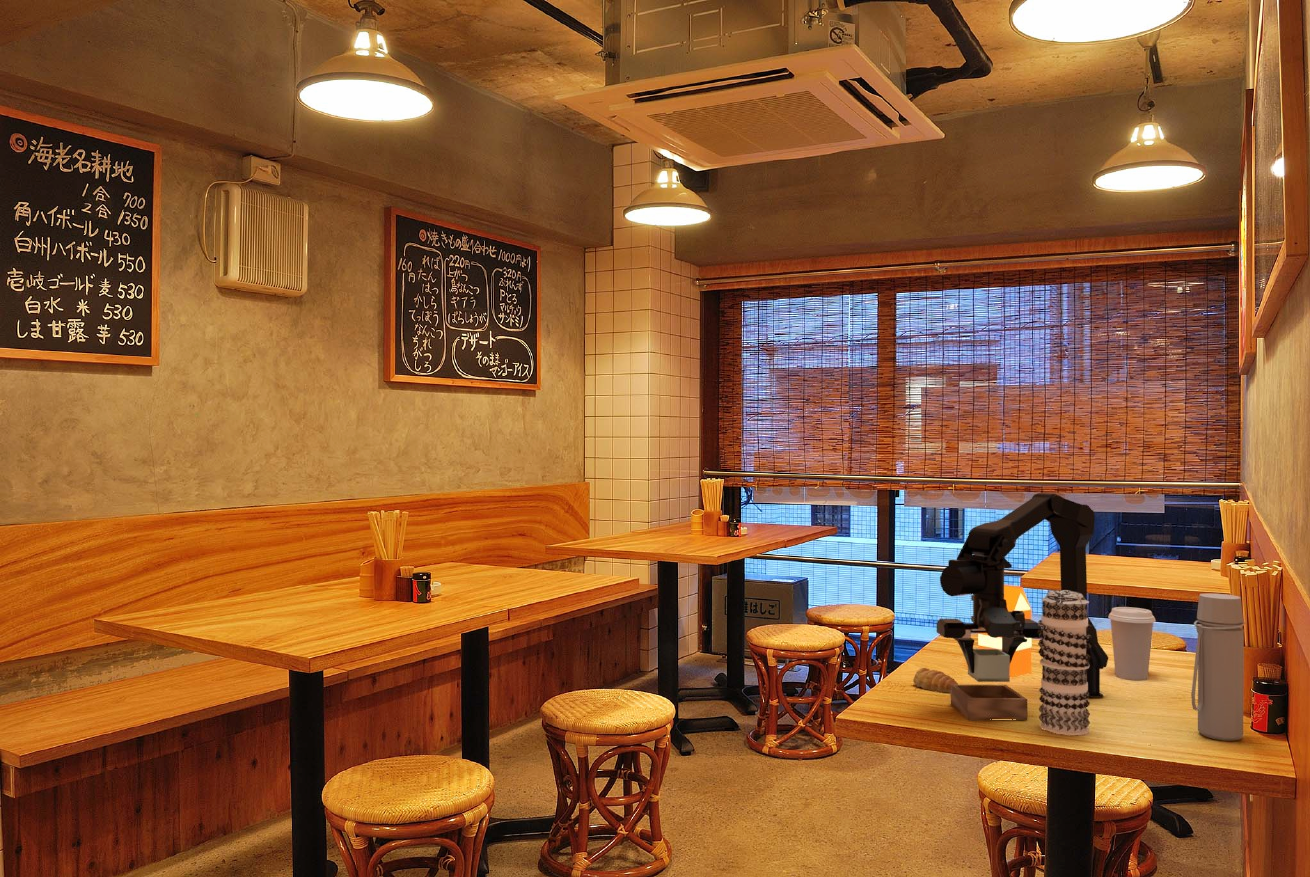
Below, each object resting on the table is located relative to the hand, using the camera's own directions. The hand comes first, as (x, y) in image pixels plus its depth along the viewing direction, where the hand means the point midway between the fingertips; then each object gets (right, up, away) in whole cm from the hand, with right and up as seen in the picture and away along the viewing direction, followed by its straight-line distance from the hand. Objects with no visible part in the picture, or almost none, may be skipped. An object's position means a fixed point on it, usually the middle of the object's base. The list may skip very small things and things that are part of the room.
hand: (988, 672), depth 188 cm
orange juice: (+15, -8, +33) cm, 37 cm away
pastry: (-5, -8, +19) cm, 21 cm away
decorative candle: (+10, -8, -10) cm, 17 cm away
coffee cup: (+42, -8, +29) cm, 52 cm away
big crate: (0, -8, 0) cm, 8 cm away
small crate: (0, -1, 0) cm, 1 cm away
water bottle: (+36, -8, -15) cm, 39 cm away
